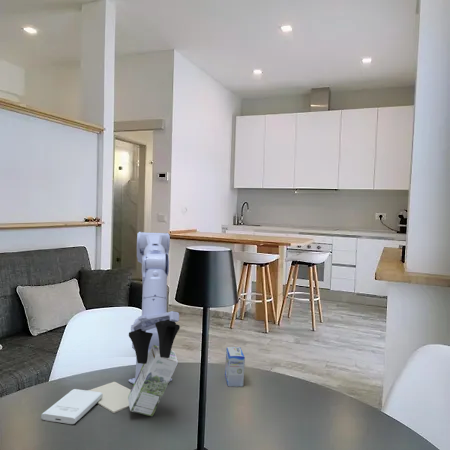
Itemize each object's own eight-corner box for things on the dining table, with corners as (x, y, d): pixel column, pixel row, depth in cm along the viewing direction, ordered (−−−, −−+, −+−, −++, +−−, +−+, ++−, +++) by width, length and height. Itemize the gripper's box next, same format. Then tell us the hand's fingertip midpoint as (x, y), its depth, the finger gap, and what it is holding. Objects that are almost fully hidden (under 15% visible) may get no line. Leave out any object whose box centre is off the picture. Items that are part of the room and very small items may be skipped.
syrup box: (149, 403, 99) (173, 349, 99) (152, 418, 94) (179, 361, 94) (127, 397, 97) (152, 342, 97) (129, 412, 92) (156, 354, 92)
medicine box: (224, 375, 121) (226, 346, 120) (239, 375, 121) (240, 346, 121) (227, 387, 113) (229, 355, 113) (243, 387, 113) (245, 356, 113)
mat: (114, 383, 112) (114, 381, 112) (147, 399, 103) (147, 398, 103) (81, 394, 104) (81, 392, 104) (113, 413, 95) (113, 411, 95)
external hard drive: (102, 398, 101) (74, 424, 89) (72, 394, 103) (41, 419, 90) (102, 392, 101) (74, 417, 89) (72, 388, 103) (41, 412, 90)
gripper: (121, 305, 98) (117, 364, 91) (162, 288, 90) (161, 352, 83) (144, 310, 102) (142, 366, 96) (185, 295, 94) (186, 356, 88)
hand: (153, 360), depth 90 cm, fingers open, 7 cm apart
